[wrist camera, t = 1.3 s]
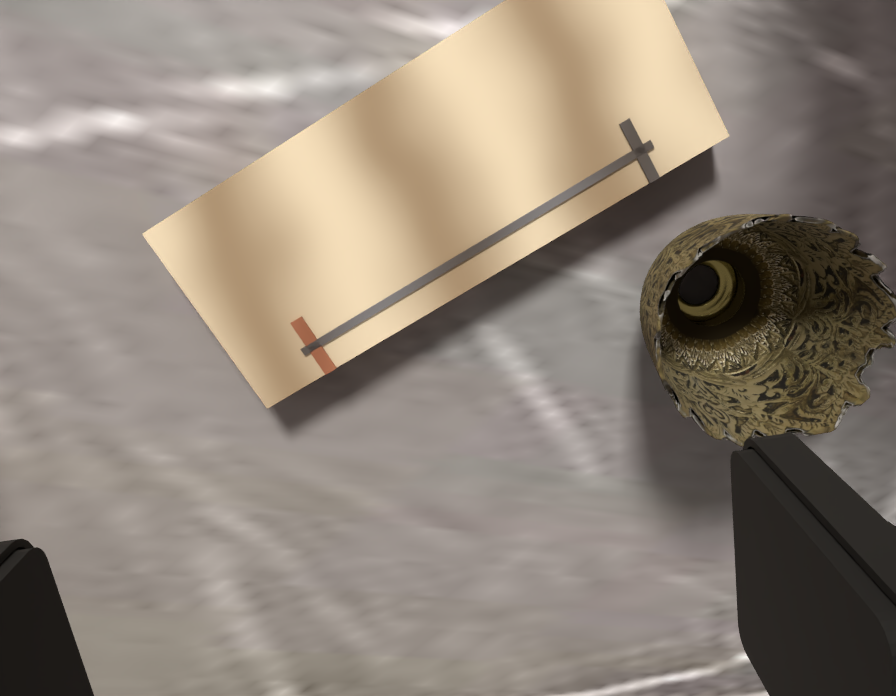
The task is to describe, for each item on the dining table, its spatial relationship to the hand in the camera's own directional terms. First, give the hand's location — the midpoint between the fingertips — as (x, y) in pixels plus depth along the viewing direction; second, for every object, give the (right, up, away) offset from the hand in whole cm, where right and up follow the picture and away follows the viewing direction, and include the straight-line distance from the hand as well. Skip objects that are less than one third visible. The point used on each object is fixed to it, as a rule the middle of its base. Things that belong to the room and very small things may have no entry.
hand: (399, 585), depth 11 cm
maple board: (0, +10, +20) cm, 22 cm away
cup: (+11, +6, +21) cm, 25 cm away
